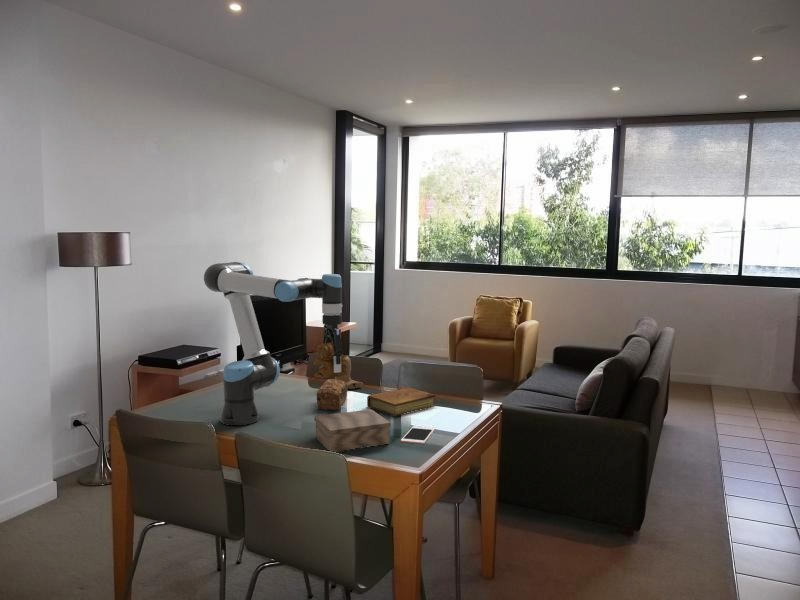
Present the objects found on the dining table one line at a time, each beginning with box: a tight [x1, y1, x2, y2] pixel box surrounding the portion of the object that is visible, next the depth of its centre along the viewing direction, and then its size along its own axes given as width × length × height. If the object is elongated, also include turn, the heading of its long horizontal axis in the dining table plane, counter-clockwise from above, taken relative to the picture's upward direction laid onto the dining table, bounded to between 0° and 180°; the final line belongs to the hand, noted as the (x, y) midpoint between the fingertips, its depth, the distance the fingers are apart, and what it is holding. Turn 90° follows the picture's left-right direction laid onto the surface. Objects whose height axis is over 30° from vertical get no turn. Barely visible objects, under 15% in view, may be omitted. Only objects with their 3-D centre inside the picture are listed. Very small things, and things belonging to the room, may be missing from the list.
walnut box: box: [313, 408, 391, 453], centre depth 232 cm, size 23×19×8 cm
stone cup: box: [334, 355, 364, 390], centre depth 310 cm, size 15×12×15 cm
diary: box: [366, 386, 436, 417], centre depth 277 cm, size 23×19×6 cm
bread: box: [316, 378, 348, 411], centre depth 280 cm, size 19×11×10 cm, turn 173°
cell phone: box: [400, 425, 436, 445], centre depth 239 cm, size 9×18×1 cm, turn 164°
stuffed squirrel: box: [312, 342, 347, 379], centre depth 250 cm, size 10×14×13 cm
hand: (332, 369), depth 250 cm, fingers closed on stuffed squirrel, 12 cm apart
